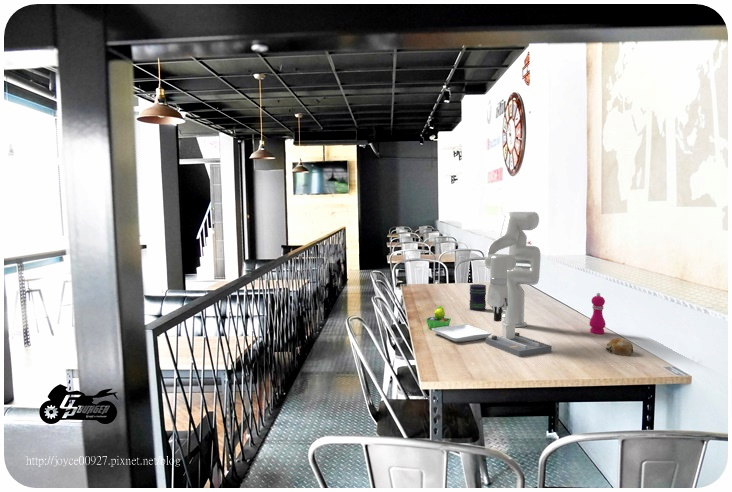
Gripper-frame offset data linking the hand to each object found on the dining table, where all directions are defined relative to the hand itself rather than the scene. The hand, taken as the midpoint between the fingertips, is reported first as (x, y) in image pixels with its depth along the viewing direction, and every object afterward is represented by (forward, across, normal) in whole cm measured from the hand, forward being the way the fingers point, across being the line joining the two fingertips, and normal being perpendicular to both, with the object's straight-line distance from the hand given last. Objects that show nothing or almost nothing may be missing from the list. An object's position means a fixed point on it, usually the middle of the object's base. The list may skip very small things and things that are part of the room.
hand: (497, 321), depth 225 cm
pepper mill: (+8, +9, +55) cm, 56 cm away
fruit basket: (+9, -31, -12) cm, 35 cm away
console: (+9, +13, +1) cm, 16 cm away
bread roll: (+9, +37, +36) cm, 52 cm away
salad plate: (+10, -13, -11) cm, 20 cm away
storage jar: (+8, -62, +36) cm, 72 cm away
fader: (+7, +7, +1) cm, 10 cm away
